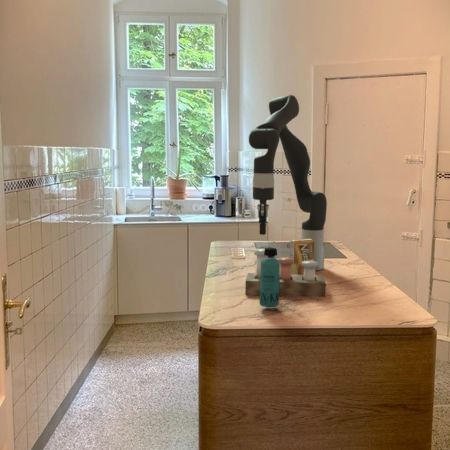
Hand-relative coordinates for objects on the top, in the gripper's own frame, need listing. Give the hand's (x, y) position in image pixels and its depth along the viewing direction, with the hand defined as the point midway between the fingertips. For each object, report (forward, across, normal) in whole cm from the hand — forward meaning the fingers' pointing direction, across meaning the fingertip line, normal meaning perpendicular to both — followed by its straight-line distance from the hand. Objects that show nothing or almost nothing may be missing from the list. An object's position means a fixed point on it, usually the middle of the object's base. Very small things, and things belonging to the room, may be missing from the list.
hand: (262, 234), depth 192 cm
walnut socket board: (+21, 0, +8) cm, 22 cm away
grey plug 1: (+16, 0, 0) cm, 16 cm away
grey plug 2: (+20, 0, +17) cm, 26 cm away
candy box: (+21, -22, +15) cm, 34 cm away
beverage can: (+21, -22, +1) cm, 30 cm away
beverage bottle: (+21, +22, +3) cm, 31 cm away
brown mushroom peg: (+19, 0, +8) cm, 21 cm away
